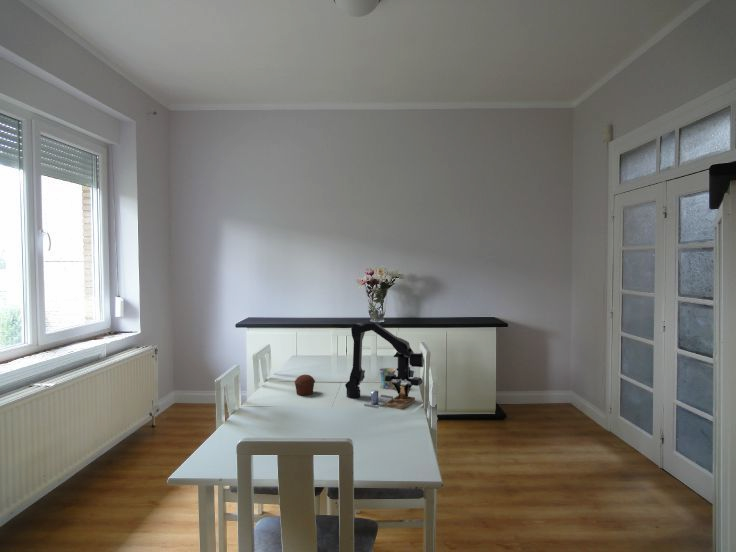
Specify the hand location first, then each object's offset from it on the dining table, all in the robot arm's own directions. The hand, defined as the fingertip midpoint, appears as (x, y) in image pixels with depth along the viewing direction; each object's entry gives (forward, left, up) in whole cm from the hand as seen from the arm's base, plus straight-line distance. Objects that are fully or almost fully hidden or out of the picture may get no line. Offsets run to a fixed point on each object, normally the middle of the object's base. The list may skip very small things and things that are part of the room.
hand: (403, 396), depth 232 cm
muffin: (-54, -11, -4) cm, 56 cm away
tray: (0, -4, -3) cm, 5 cm away
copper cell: (0, 0, -1) cm, 1 cm away
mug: (-18, +18, -4) cm, 26 cm away
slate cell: (-10, -11, -3) cm, 15 cm away
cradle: (-10, -7, -3) cm, 13 cm away
